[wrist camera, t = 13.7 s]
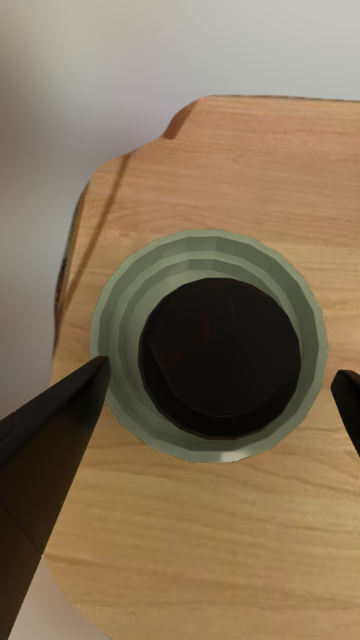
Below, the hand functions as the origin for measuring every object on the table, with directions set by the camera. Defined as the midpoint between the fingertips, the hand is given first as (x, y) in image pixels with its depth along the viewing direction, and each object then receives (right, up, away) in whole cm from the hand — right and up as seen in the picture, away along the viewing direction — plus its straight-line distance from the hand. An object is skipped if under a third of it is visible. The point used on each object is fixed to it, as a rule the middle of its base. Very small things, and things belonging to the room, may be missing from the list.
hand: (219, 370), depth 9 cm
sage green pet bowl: (0, 0, +10) cm, 10 cm away
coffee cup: (0, -2, +9) cm, 9 cm away
